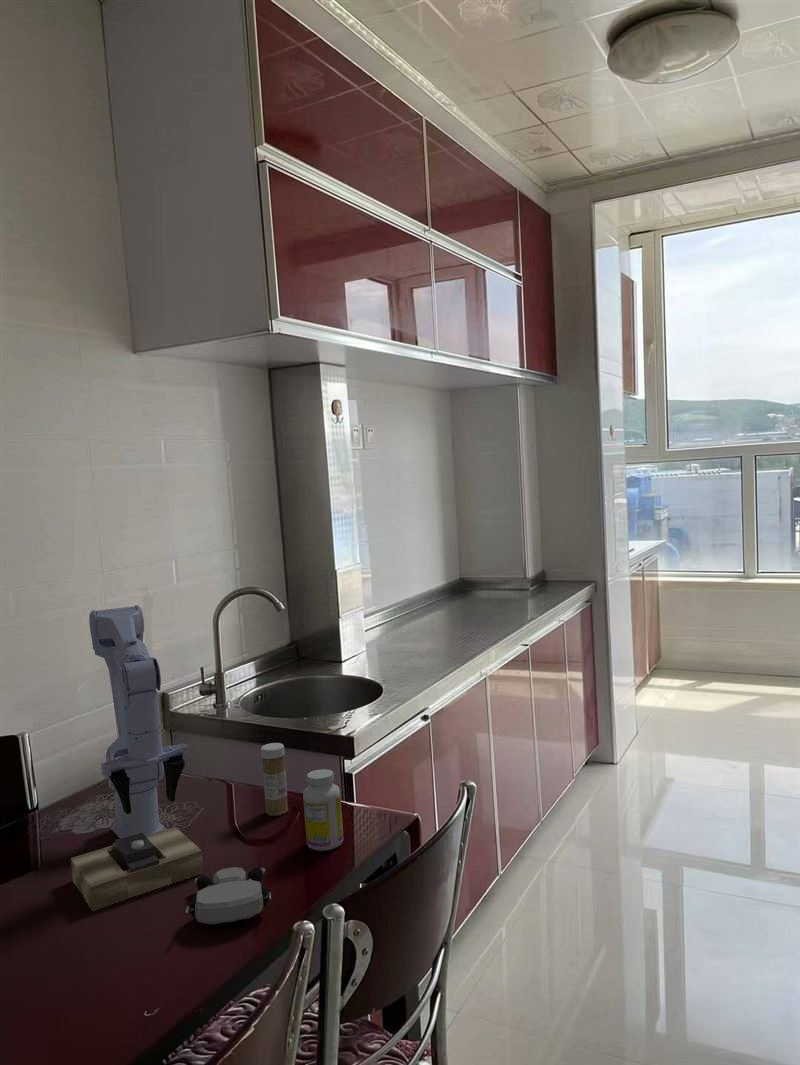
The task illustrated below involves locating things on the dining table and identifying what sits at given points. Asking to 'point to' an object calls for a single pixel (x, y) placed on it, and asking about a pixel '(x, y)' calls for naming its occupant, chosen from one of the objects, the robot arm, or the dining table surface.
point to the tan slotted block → (113, 885)
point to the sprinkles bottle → (274, 779)
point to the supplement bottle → (322, 811)
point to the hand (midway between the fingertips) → (149, 806)
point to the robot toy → (229, 896)
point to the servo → (135, 853)
